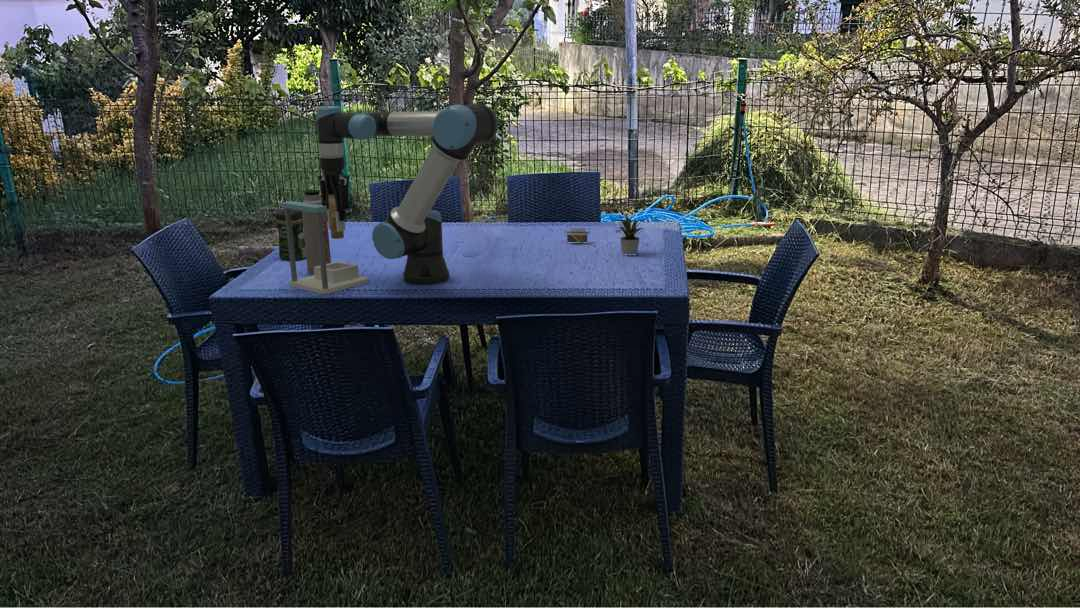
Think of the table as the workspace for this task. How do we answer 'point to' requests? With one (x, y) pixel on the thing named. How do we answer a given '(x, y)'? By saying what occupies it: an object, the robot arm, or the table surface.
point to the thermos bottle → (314, 233)
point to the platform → (577, 235)
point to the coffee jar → (297, 234)
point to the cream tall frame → (325, 275)
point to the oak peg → (334, 218)
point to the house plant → (629, 235)
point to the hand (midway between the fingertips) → (336, 229)
